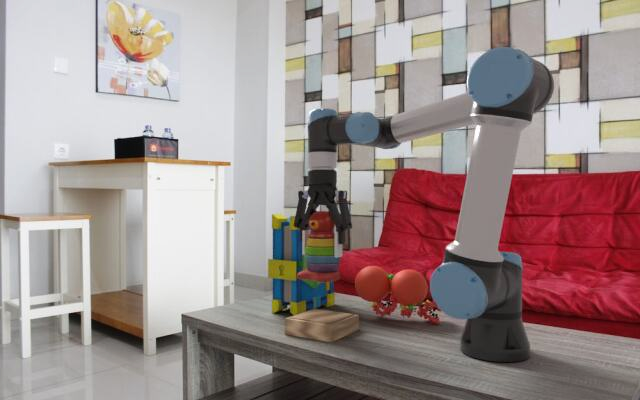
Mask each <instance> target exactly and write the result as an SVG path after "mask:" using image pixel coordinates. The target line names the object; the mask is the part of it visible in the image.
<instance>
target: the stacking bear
mask: <svg viewBox="0 0 640 400" xmlns="http://www.w3.org/2000/svg"><path fill="white" fill-rule="evenodd" d="M334 226H335V223H334V221H333V219H332V217H331V214H330V212H329V210H316V211H314V212H313V215H312V216H311V217H310V219H309V227H310V229H311V230H312V233H310V234H309V238H308V239H307V243H306V248H305V254H306V255H305V259H306V262H307V268H308V270H304V271H301V272H299V273H298V274H297V278H298V279H302V280H313V281H316V282H321V283H326V282H333V281H334V282H336V281H338V280H340V279H341V274H340V272H339V268H340V262H341V258H342V257H338V258H336V257H334V248H335V232H334V233H333V232H332V231H333V229H334V230H335V227H336V226H335V227H334Z"/></svg>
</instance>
